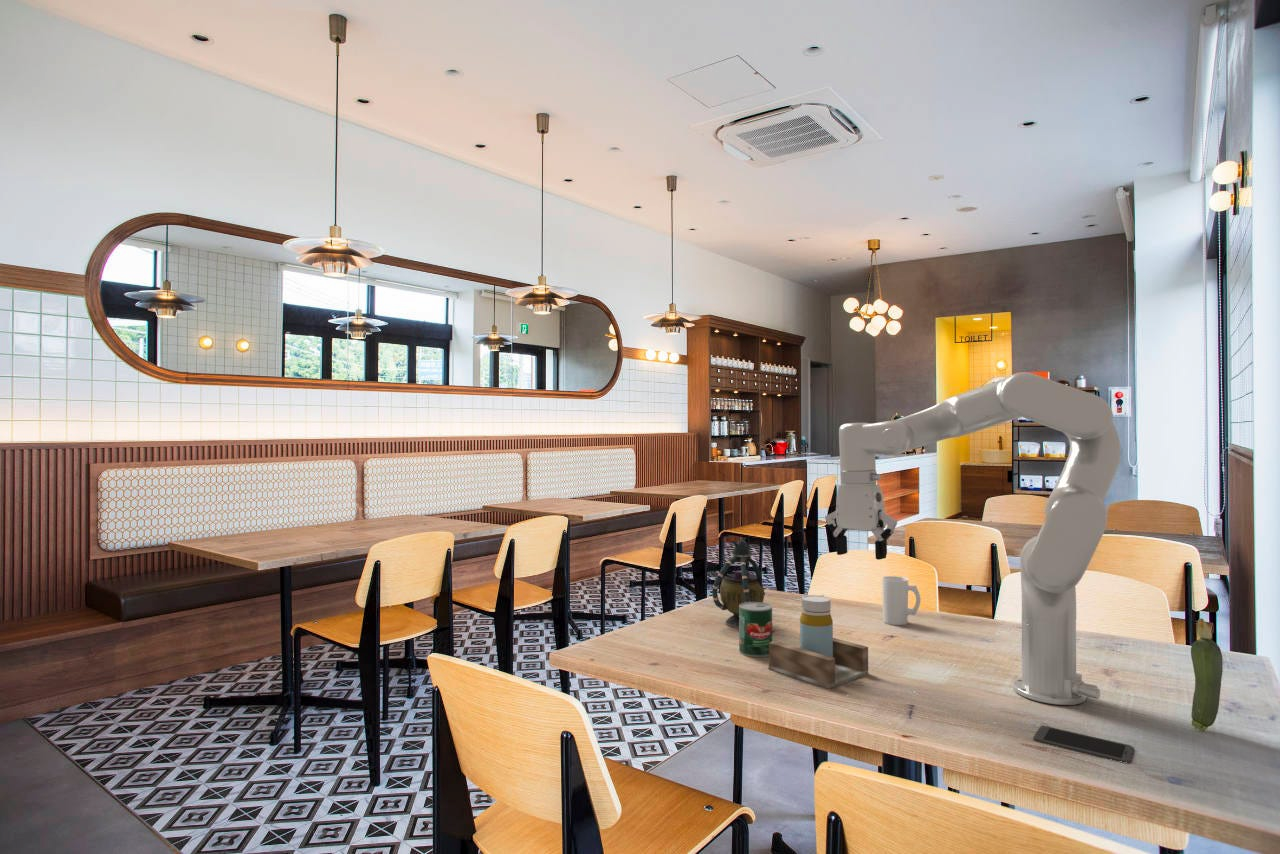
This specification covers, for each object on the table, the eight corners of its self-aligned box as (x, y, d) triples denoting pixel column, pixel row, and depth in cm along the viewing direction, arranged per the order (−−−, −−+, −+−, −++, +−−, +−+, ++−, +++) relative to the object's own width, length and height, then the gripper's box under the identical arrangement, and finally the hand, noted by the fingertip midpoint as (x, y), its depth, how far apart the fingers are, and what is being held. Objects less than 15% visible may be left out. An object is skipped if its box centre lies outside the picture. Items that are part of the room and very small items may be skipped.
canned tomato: (757, 659, 167) (757, 611, 167) (732, 651, 173) (732, 605, 173) (779, 652, 172) (779, 606, 172) (754, 644, 178) (754, 600, 178)
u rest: (868, 673, 157) (868, 646, 157) (829, 688, 148) (829, 660, 148) (808, 655, 169) (808, 631, 169) (768, 668, 160) (768, 642, 160)
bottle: (830, 661, 162) (829, 595, 162) (835, 672, 155) (834, 602, 155) (798, 660, 163) (798, 594, 163) (802, 671, 156) (801, 601, 156)
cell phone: (1040, 728, 129) (1040, 724, 129) (1134, 750, 120) (1134, 746, 120) (1031, 742, 123) (1031, 738, 123) (1130, 766, 114) (1130, 761, 114)
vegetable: (1208, 726, 128) (1208, 614, 128) (1229, 736, 124) (1229, 620, 124) (1184, 726, 128) (1184, 614, 128) (1204, 737, 124) (1204, 621, 124)
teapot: (708, 629, 192) (708, 541, 192) (742, 608, 214) (742, 529, 214) (751, 635, 186) (751, 545, 186) (782, 613, 208) (781, 532, 208)
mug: (878, 623, 197) (878, 579, 197) (887, 617, 202) (886, 575, 202) (916, 629, 191) (916, 583, 191) (924, 623, 196) (923, 579, 196)
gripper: (903, 478, 155) (906, 558, 155) (834, 476, 168) (837, 550, 168) (884, 480, 150) (887, 563, 150) (815, 478, 163) (818, 554, 163)
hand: (861, 556), depth 159 cm, fingers open, 9 cm apart
